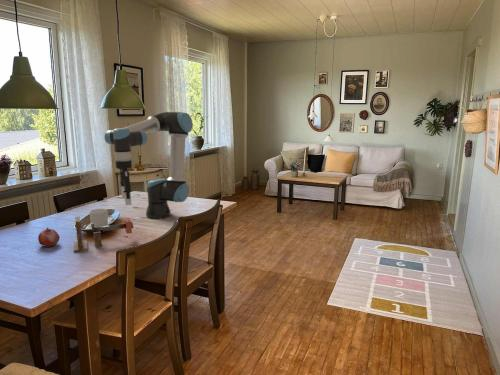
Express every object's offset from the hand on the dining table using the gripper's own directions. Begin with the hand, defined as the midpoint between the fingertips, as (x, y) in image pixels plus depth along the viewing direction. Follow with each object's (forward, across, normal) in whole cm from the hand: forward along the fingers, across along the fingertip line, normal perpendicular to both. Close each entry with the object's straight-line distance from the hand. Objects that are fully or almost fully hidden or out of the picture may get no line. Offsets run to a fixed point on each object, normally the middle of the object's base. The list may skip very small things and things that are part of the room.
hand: (126, 201), depth 186 cm
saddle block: (+21, 0, -15) cm, 26 cm away
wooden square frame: (+21, 0, -23) cm, 31 cm away
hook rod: (+16, 0, -8) cm, 18 cm away
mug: (+21, -24, -12) cm, 34 cm away
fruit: (+21, -9, -37) cm, 43 cm away
